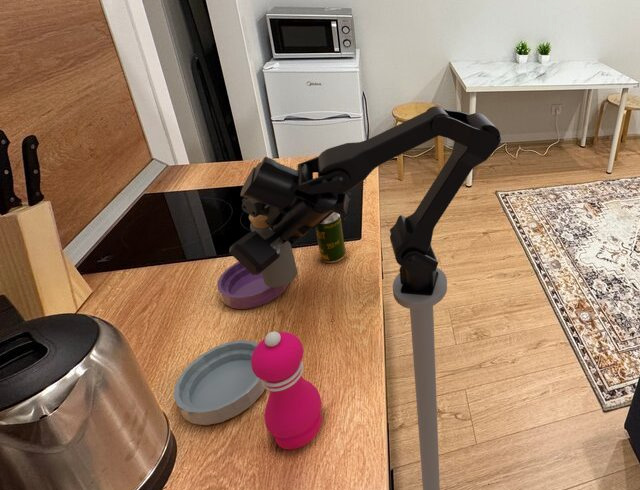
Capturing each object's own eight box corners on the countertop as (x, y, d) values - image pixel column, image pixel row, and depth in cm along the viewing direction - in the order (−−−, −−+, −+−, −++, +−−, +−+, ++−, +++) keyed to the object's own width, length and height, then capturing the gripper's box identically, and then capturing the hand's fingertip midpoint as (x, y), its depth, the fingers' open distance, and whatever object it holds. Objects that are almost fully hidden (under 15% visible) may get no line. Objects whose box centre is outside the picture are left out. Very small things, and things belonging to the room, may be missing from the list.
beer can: (336, 245, 98) (329, 202, 93) (351, 255, 95) (344, 211, 90) (315, 257, 94) (307, 213, 89) (330, 267, 91) (322, 223, 86)
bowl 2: (286, 357, 72) (282, 343, 70) (242, 430, 61) (236, 416, 59) (216, 351, 72) (211, 337, 70) (160, 423, 61) (152, 408, 59)
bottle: (296, 284, 80) (280, 220, 73) (261, 290, 78) (241, 225, 71) (298, 263, 85) (283, 202, 78) (266, 269, 83) (248, 207, 76)
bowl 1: (301, 269, 91) (298, 256, 89) (269, 313, 80) (265, 299, 78) (246, 264, 91) (242, 252, 89) (207, 308, 80) (202, 294, 78)
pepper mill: (266, 422, 62) (232, 329, 53) (316, 394, 66) (293, 303, 57) (278, 465, 57) (244, 370, 48) (332, 432, 61) (310, 339, 52)
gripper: (311, 151, 77) (274, 190, 85) (222, 203, 61) (187, 246, 69) (352, 195, 79) (313, 229, 87) (277, 257, 63) (237, 292, 71)
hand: (267, 246), depth 78 cm, fingers closed on bottle, 6 cm apart
